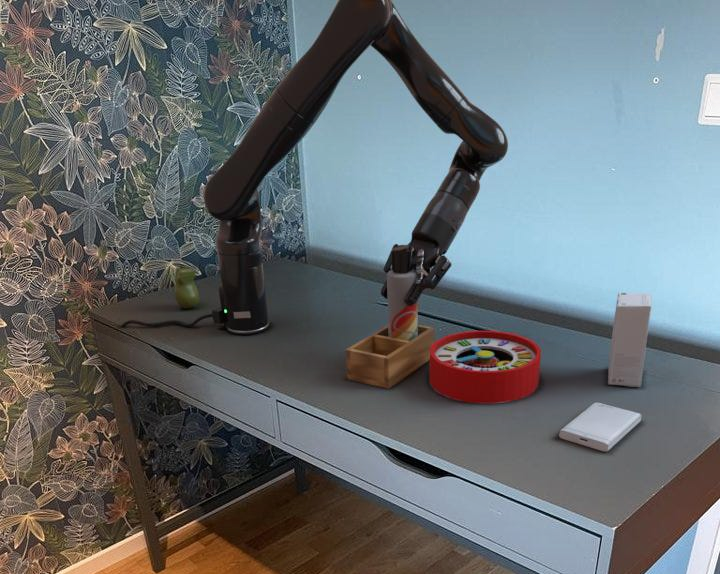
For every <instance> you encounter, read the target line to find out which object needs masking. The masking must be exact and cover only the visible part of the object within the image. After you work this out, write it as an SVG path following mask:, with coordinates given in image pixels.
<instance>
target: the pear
mask: <svg viewBox="0 0 720 574" xmlns="http://www.w3.org/2000/svg"><path fill="white" fill-rule="evenodd" d="M195 278H196V273H195V271H194V270H193V268H190V267H189V266H188V265H179V267H177V268H176V271H175V273H174V280H175V284H174V297H175V300H176V303H177V304H178V305H179V306H180V307H181V308H183V309H186V310H187V309H189V310H190V309H193V308H195V307H197V305H198V304H199V302H200V294H199V289H198V287H197V286H196V283H195Z"/></svg>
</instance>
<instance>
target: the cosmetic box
mask: <svg viewBox="0 0 720 574" xmlns="http://www.w3.org/2000/svg"><path fill="white" fill-rule="evenodd" d="M652 303H653V302H652V294H651V293H647V292H645V293H644V292H635V293H634V292H618V293H617V299H616V306H615V311H614V319H613V326H612V333H611V334H612V335H611V341H610V342H611V343H610V351H609V357H608V358H609V359H608V372H607V373H608V375H607V377H608V378H607V379H608V380H607V384H608V385H611V386H612V385H613V386H624V387H631V388H641V387H642V379H643V372H644V363H645V357H646V350H647V349H646V348H647V340H648V334H649V327H650V318H651V311H652Z"/></svg>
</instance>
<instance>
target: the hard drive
mask: <svg viewBox="0 0 720 574" xmlns="http://www.w3.org/2000/svg"><path fill="white" fill-rule="evenodd" d="M641 420H642V414H641V413H639V412H635V411H632V410H628V409H625V408H620V407H617V406H613V405H609V404H605V403H601V402H594V403H593V404H591V405H590V406H589V407H587V409H585V410H584V411H583V412H581V413H579V415H578V416H576V417H575V418H574V419H573V420H571V421H570V422H569V423H567V424H566V425H565V426H564V427H563V428H561V429H560V430H559V435H558V436H559V438H560V439H562V440H564V441H568V442H572V443H575V444H577V445H581V446H585V447H588V448H591V449H594V450H597V451H600V452H603V453H604V452H609V451H610V450H611V449H612V448H613V447H614V446H615V445H616V444H618V442H620V441H621V440H622V439H623V438H624V437H625V436H626V435H627V434H629V432H631V430H633V429H634V428H635V427H636V426H637V425H638V424H639V423H640V422H641Z"/></svg>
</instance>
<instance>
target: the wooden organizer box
mask: <svg viewBox="0 0 720 574" xmlns="http://www.w3.org/2000/svg"><path fill="white" fill-rule="evenodd" d="M435 342H436V328H435V327H432V326H427V325H421V324H418V336H417V337H415V338H414V339H412V340H411V341H407V340H402V339H396V338H391V337H389V335H388V324H386V325H384V326H383V327H381V328H380V329H378V330H376V331H374V332H373V333H371V334H369V335H368V336H366V337H364V338H363V339H361V340H360V341H357V342H356V343H354V344H353V345H351V346H350V347H348V348H346V349H345V357H346V359H345V360H346V361H345V362H346V375H347V380H348V381H349V380H350V381H353V382H358V383H360V384H361V383H362V384H365V385H371V386H374V387H379V388H383V389H388V390H390V389H392V387H393V386H395V385H397V384H398V383H399V382H401V381H402V380H404V379H405V378H407V377H408V376H409V375H411V374H412V373H413V372H415V371H416V370H418V369H419V368H421V367H422V366H423V365H425V364H426V363H428V362H430V348H431V346H432V345H433V343H435Z"/></svg>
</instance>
